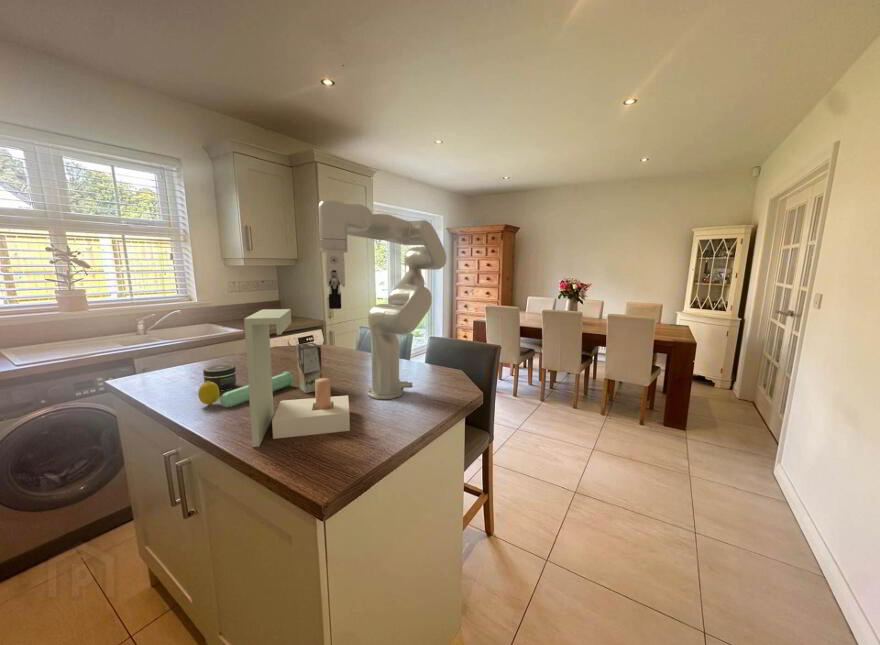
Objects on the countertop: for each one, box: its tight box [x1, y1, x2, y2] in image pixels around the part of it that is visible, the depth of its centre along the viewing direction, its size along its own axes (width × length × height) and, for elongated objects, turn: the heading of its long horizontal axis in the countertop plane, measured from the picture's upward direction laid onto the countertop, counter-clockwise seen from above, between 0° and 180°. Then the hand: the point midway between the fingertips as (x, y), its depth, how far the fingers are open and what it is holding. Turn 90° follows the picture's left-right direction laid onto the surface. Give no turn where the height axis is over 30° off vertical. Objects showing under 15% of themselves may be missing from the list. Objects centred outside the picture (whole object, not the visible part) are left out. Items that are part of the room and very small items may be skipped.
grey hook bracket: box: [243, 308, 292, 448], centre depth 94 cm, size 8×20×32 cm, turn 16°
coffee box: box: [296, 342, 323, 394], centre depth 127 cm, size 9×6×16 cm
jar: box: [202, 363, 237, 392], centre depth 127 cm, size 10×10×8 cm
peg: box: [314, 377, 332, 410], centre depth 99 cm, size 4×4×12 cm
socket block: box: [271, 394, 351, 440], centre depth 99 cm, size 19×14×5 cm
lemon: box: [197, 381, 220, 406], centre depth 110 cm, size 6×6×8 cm
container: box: [220, 371, 294, 408], centre depth 120 cm, size 6×6×25 cm
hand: (335, 307), depth 102 cm, fingers open, 9 cm apart
